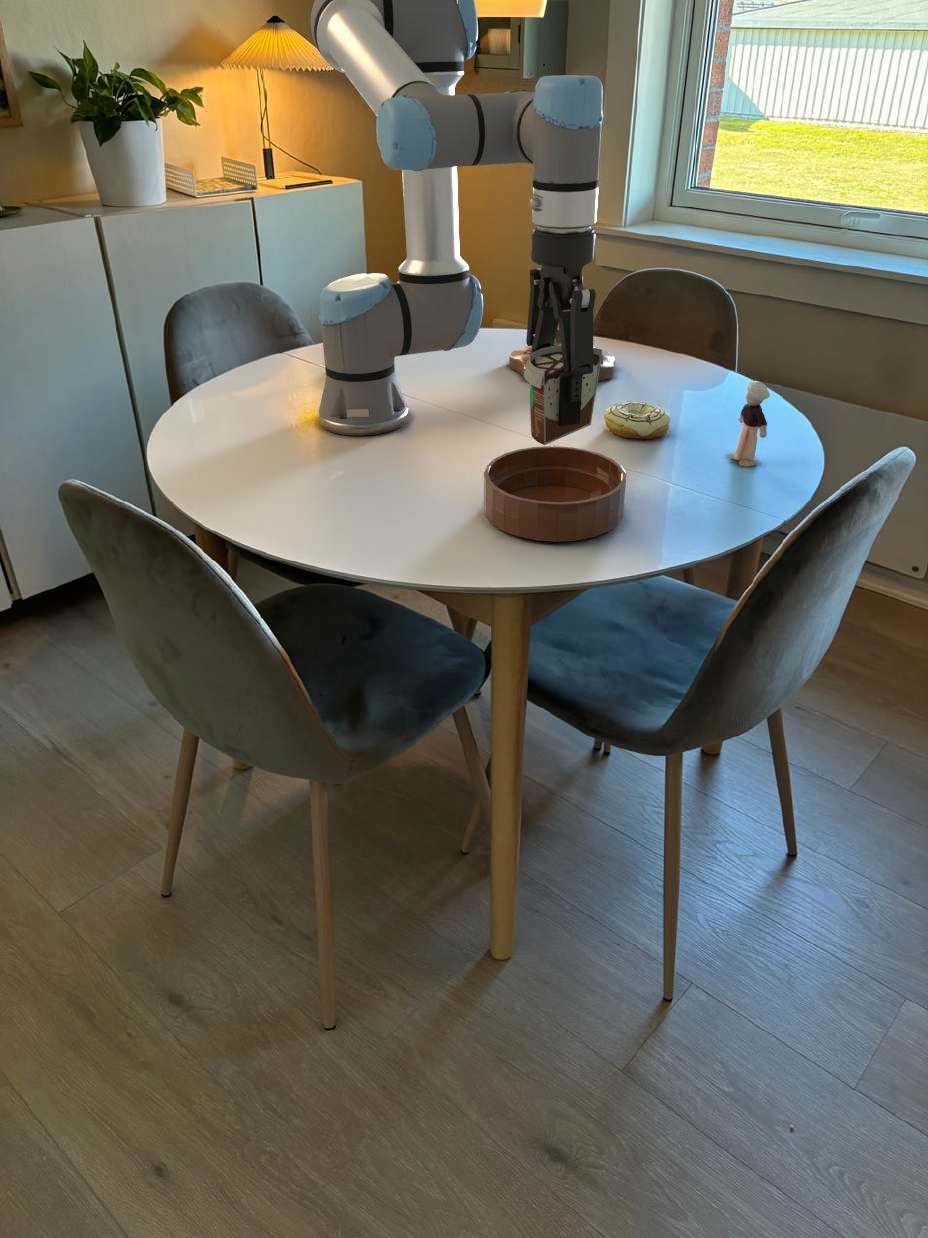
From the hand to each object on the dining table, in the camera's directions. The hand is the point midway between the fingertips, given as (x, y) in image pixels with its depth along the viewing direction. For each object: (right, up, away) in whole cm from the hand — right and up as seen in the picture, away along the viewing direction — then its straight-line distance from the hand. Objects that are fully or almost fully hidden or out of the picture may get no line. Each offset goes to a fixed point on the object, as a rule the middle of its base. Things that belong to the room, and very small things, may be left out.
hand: (555, 413), depth 122 cm
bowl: (0, -12, +8) cm, 15 cm away
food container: (-1, -2, +2) cm, 2 cm away
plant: (+8, +22, +61) cm, 66 cm away
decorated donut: (+17, +4, +34) cm, 38 cm away
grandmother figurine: (+31, -3, +22) cm, 38 cm away
